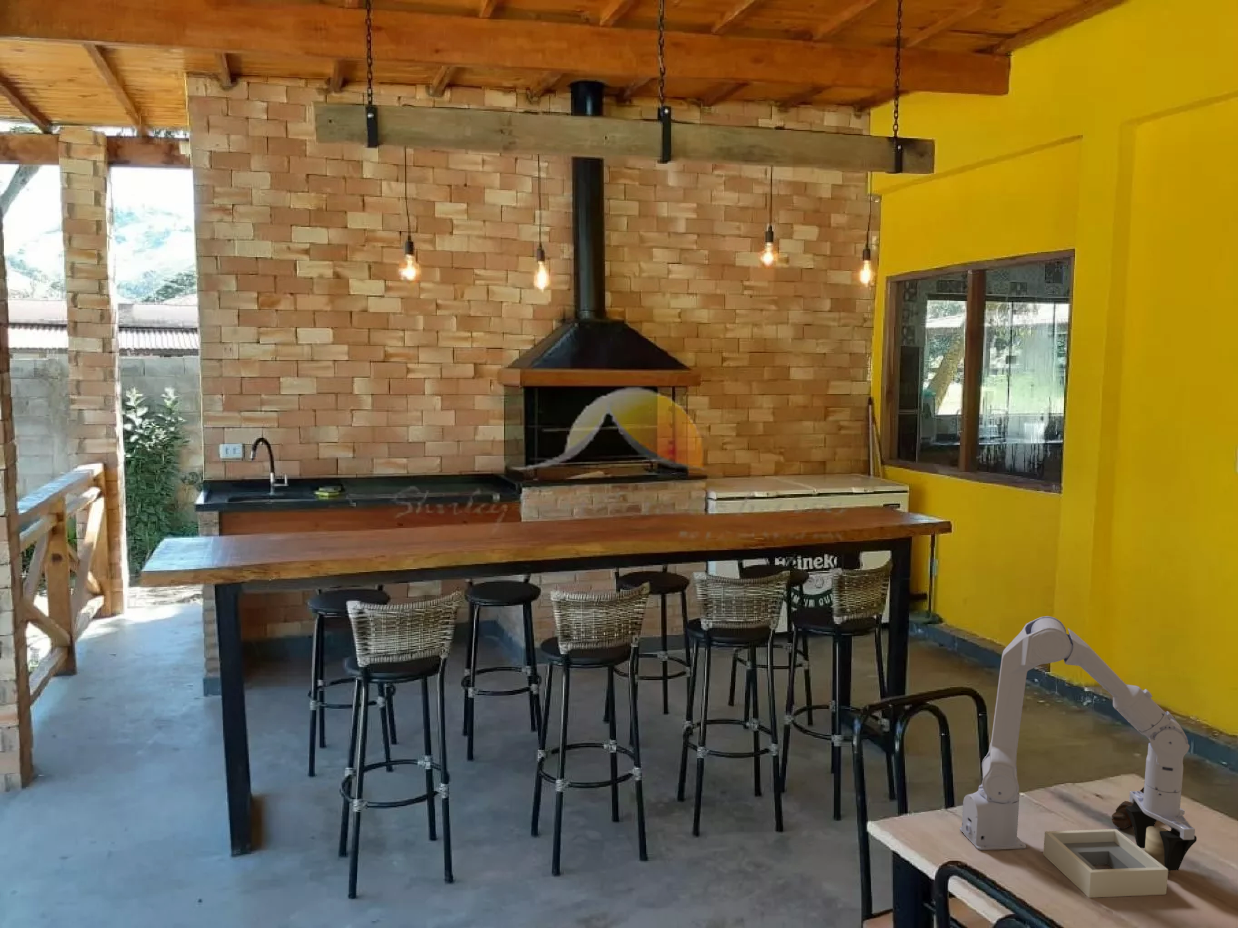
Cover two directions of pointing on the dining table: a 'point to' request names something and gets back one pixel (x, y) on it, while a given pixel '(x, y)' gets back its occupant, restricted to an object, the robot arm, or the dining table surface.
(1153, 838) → the peg
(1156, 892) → the box
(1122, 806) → the bolt
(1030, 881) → the dining table surface
